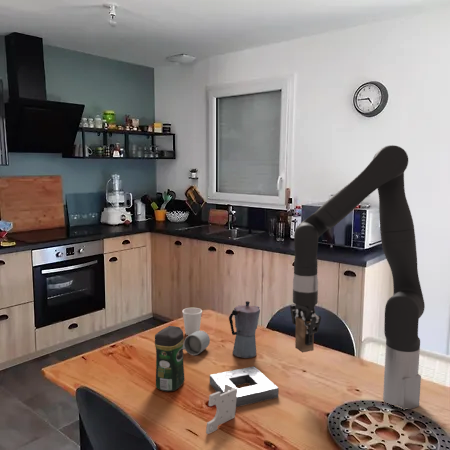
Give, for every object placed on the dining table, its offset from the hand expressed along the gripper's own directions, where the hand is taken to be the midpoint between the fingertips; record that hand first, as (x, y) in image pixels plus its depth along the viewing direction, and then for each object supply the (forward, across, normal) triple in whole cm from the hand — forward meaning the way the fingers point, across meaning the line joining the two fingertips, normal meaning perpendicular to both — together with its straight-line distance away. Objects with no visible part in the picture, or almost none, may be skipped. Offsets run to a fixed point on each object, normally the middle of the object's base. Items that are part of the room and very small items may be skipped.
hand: (304, 341), depth 138 cm
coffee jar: (+15, +19, +38) cm, 45 cm away
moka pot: (+15, +30, +6) cm, 34 cm away
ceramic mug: (+15, +41, +22) cm, 49 cm away
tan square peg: (+2, 0, 0) cm, 2 cm away
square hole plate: (+15, +6, +18) cm, 24 cm away
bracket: (+15, -6, +32) cm, 36 cm away
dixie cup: (+15, +57, +17) cm, 62 cm away
